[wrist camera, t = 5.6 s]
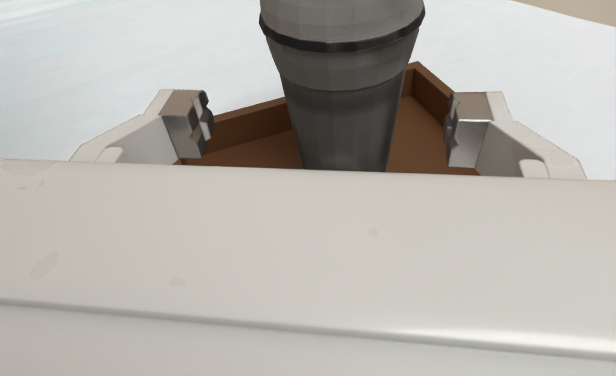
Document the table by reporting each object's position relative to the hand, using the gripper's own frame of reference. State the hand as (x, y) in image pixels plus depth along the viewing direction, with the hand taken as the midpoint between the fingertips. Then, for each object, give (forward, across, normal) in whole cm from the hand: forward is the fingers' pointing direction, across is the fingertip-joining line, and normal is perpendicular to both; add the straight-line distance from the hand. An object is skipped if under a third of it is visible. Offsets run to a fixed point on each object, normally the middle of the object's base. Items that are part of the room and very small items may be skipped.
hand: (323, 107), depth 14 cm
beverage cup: (+7, 0, +11) cm, 13 cm away
